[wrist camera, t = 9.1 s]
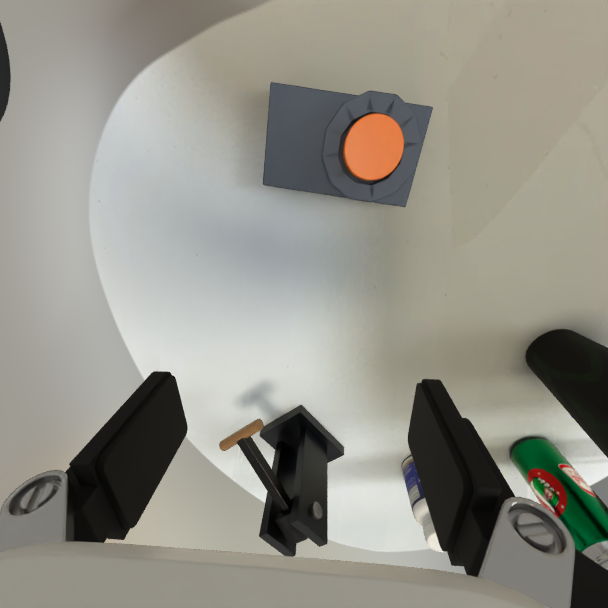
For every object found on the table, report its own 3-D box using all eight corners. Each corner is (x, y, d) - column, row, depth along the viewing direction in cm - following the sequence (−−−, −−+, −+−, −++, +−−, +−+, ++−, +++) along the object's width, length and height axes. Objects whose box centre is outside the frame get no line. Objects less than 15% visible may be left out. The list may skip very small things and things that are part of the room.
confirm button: (337, 176, 22) (339, 175, 20) (348, 114, 20) (350, 108, 18) (390, 184, 21) (395, 184, 20) (405, 123, 20) (412, 117, 18)
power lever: (226, 435, 31) (213, 448, 29) (262, 413, 30) (251, 425, 28) (286, 530, 31) (277, 550, 28) (326, 513, 29) (321, 533, 27)
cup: (499, 353, 31) (596, 451, 20) (568, 305, 28) (724, 387, 17) (542, 392, 32) (653, 502, 21) (610, 350, 29) (778, 451, 18)
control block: (267, 184, 25) (257, 185, 22) (275, 90, 23) (265, 73, 19) (399, 205, 25) (411, 209, 22) (424, 113, 22) (442, 100, 19)
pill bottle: (447, 455, 37) (480, 531, 29) (435, 481, 39) (463, 559, 31) (406, 449, 37) (428, 524, 29) (397, 475, 39) (415, 552, 31)
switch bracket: (261, 428, 38) (234, 527, 27) (301, 404, 36) (290, 502, 25) (303, 466, 40) (295, 572, 29) (343, 447, 38) (350, 552, 27)
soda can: (559, 453, 36) (662, 575, 25) (518, 468, 37) (599, 589, 26) (542, 429, 34) (643, 546, 23) (501, 446, 36) (578, 563, 25)
